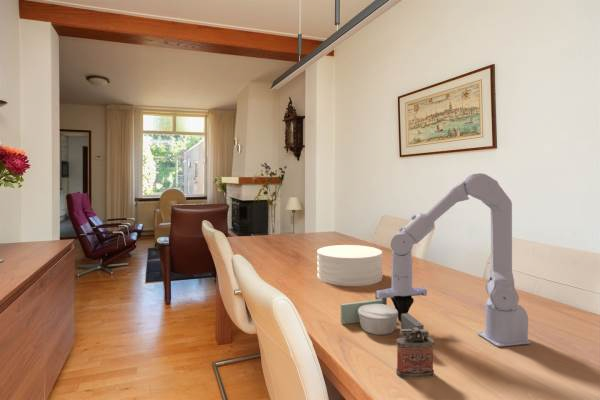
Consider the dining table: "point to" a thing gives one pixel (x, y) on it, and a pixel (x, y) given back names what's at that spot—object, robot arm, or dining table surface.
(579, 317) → the dining table surface
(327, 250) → the plate stack
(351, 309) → the door
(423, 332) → the lighter
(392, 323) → the ramekin
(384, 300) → the grey angled pieces
